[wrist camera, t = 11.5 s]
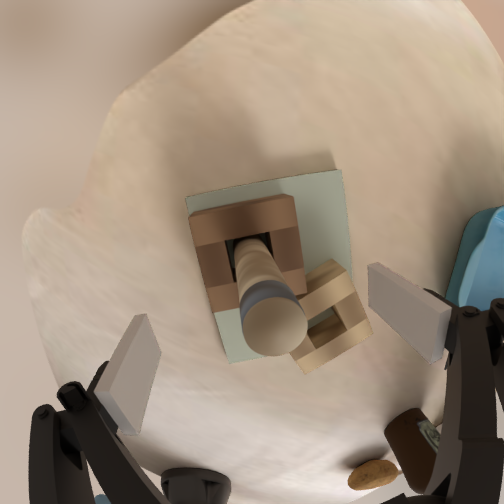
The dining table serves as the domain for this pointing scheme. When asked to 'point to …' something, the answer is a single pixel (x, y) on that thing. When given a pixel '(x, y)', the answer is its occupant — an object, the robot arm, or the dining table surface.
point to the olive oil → (414, 447)
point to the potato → (372, 475)
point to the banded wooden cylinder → (266, 300)
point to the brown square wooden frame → (240, 225)
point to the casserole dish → (479, 262)
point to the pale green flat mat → (310, 229)
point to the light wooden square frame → (337, 325)
